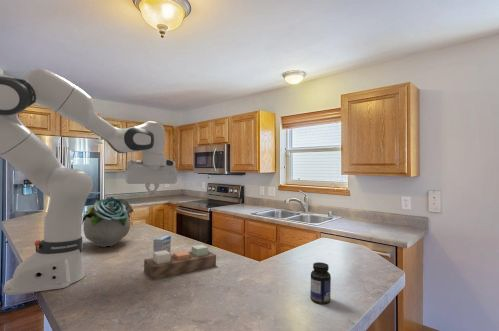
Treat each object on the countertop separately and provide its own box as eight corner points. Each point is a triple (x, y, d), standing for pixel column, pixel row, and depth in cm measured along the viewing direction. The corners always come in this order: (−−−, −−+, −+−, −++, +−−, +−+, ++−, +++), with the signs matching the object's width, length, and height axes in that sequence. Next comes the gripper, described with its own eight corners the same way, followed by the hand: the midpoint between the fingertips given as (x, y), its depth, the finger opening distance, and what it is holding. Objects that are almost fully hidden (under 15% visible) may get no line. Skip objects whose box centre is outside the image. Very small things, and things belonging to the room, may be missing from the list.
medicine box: (162, 259, 122) (162, 239, 122) (152, 258, 123) (153, 238, 123) (170, 254, 129) (171, 235, 130) (161, 253, 130) (162, 234, 130)
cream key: (157, 267, 103) (157, 255, 103) (152, 264, 107) (153, 252, 107) (170, 265, 106) (170, 253, 106) (165, 261, 110) (165, 250, 110)
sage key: (196, 260, 113) (197, 249, 113) (191, 256, 117) (191, 246, 117) (207, 258, 116) (207, 247, 116) (202, 255, 120) (202, 244, 120)
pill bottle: (326, 295, 90) (327, 261, 91) (333, 304, 84) (333, 268, 84) (308, 295, 90) (308, 261, 90) (312, 304, 84) (313, 268, 84)
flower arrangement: (141, 239, 154) (142, 195, 154) (118, 253, 129) (120, 200, 129) (96, 238, 154) (97, 194, 154) (65, 251, 129) (67, 198, 129)
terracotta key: (177, 267, 108) (178, 256, 108) (172, 264, 112) (173, 252, 112) (189, 265, 111) (190, 254, 111) (184, 262, 115) (184, 251, 115)
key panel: (152, 279, 100) (152, 267, 100) (143, 271, 108) (144, 259, 108) (215, 266, 115) (216, 255, 115) (204, 259, 123) (204, 249, 123)
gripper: (128, 160, 107) (126, 196, 106) (179, 162, 119) (178, 194, 119) (124, 160, 112) (123, 194, 111) (173, 162, 124) (172, 193, 124)
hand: (151, 194), depth 115 cm, fingers closed
